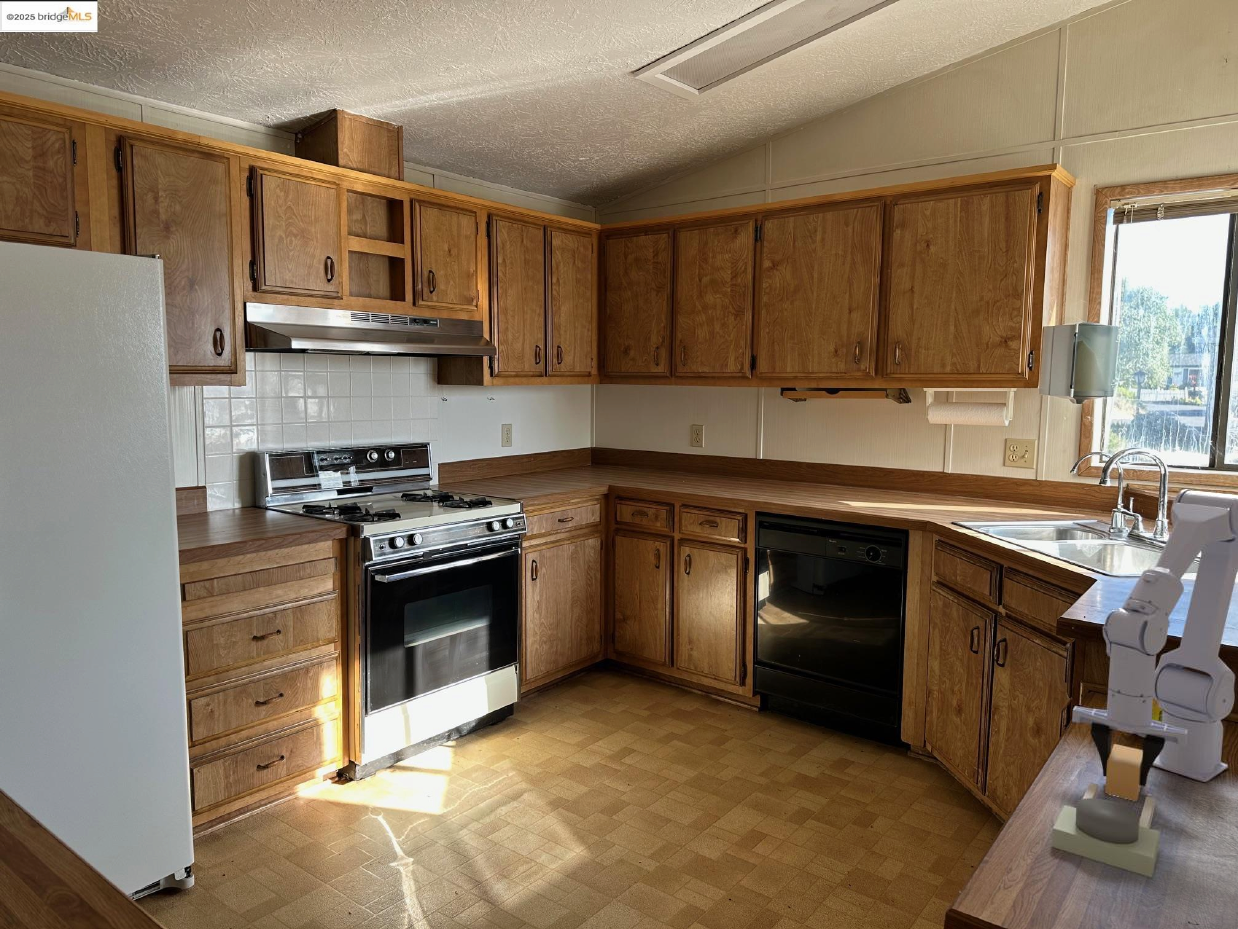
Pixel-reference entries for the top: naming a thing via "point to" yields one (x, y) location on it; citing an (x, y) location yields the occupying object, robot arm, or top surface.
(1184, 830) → the top surface
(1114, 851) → the green base with dome
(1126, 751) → the chute block
